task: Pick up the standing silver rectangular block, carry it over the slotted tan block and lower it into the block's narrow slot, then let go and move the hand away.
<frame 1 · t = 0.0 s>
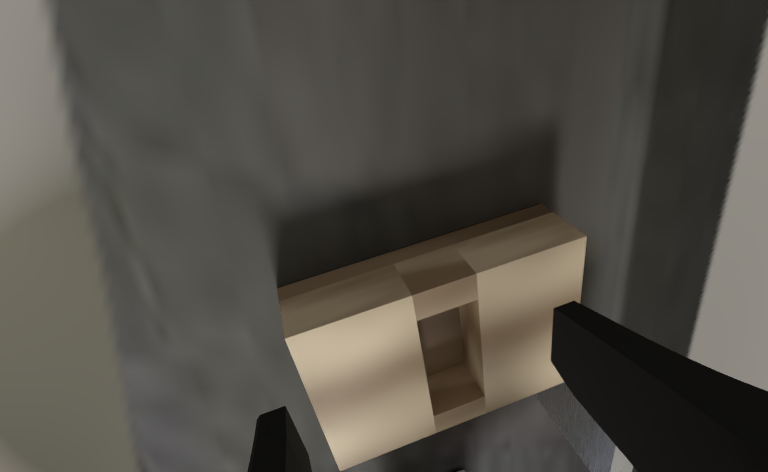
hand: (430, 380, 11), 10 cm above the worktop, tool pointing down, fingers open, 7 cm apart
silver rectangular block: (548, 372, 30), on the worktop
slotted tan block: (427, 317, 24), on the worktop
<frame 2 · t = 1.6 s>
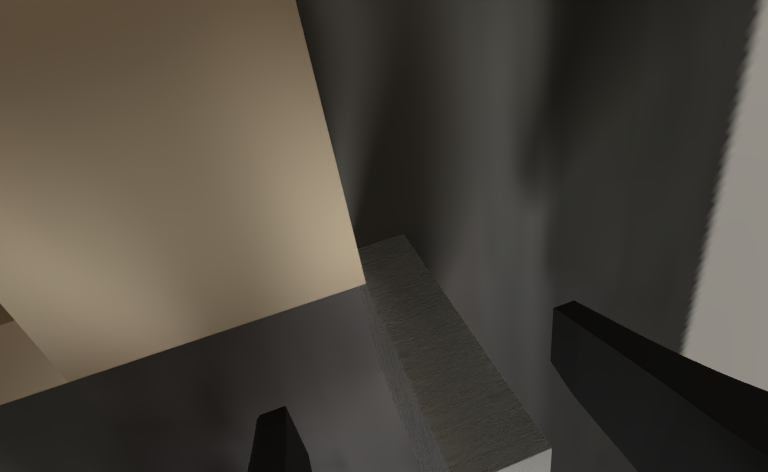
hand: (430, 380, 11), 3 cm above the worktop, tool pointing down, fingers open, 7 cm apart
silver rectangular block: (391, 306, 14), on the worktop
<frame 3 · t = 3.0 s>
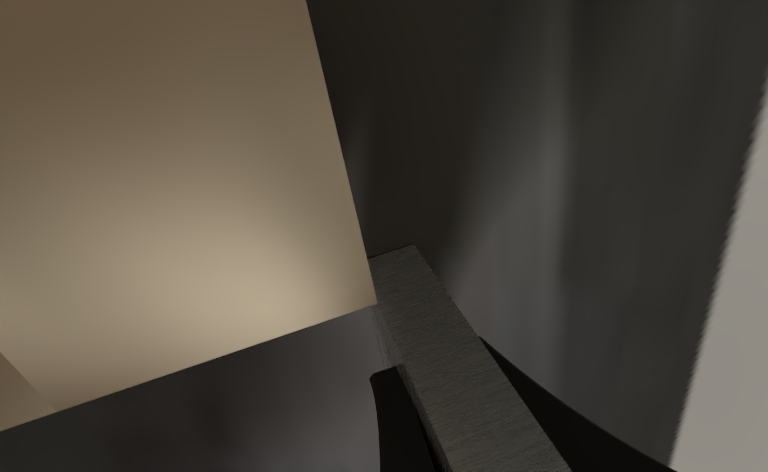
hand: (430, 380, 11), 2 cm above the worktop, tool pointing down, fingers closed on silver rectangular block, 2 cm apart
silver rectangular block: (400, 319, 13), on the worktop, touching gripper
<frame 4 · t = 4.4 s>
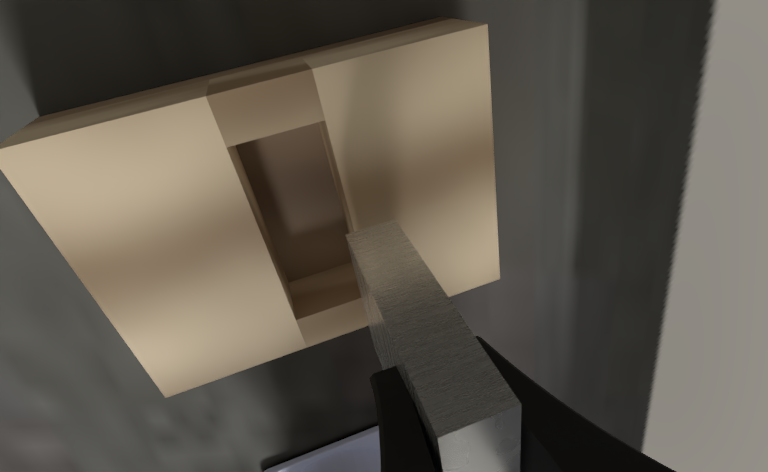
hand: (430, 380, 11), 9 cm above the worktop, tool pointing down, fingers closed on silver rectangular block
silver rectangular block: (383, 288, 15), point 5 cm above the worktop, touching gripper
slotted tan block: (296, 190, 18), on the worktop
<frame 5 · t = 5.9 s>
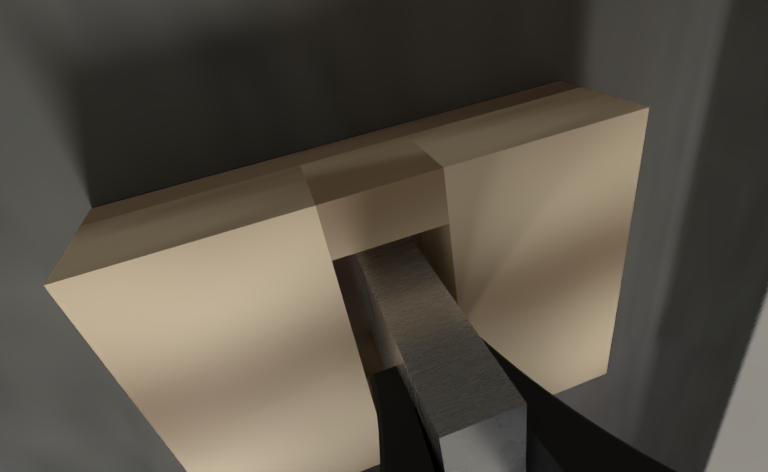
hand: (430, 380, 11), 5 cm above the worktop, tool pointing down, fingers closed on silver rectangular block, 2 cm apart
silver rectangular block: (385, 289, 14), point 1 cm above the worktop, touching gripper, slotted tan block
slotted tan block: (377, 274, 15), on the worktop
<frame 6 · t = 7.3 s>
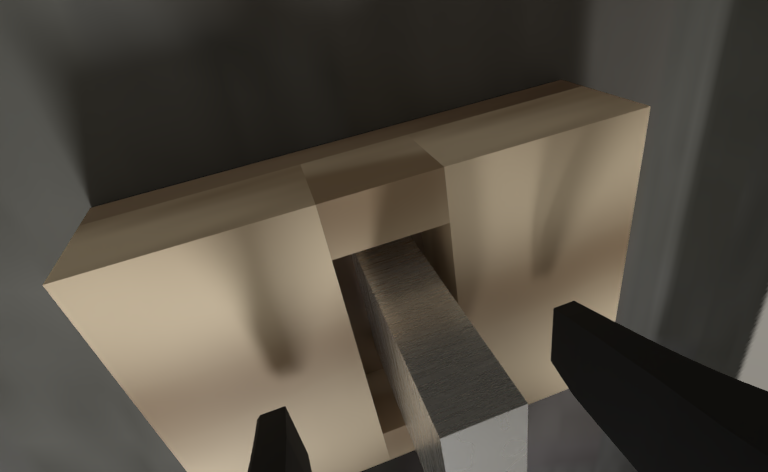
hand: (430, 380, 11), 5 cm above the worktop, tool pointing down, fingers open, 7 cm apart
silver rectangular block: (385, 288, 14), point 1 cm above the worktop, touching slotted tan block
slotted tan block: (377, 273, 15), on the worktop
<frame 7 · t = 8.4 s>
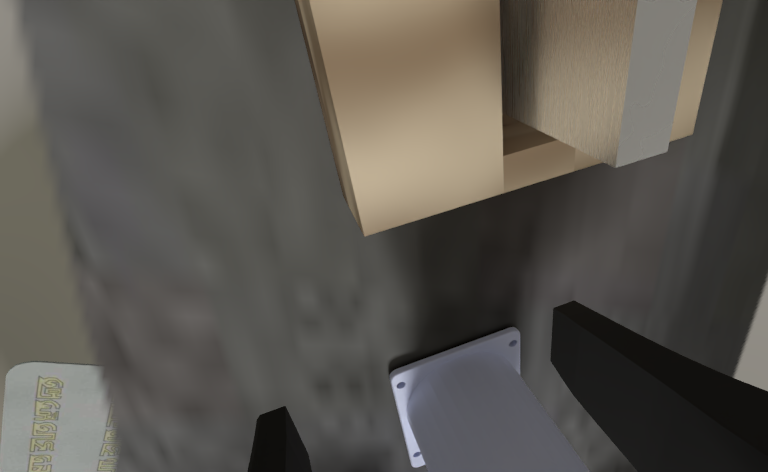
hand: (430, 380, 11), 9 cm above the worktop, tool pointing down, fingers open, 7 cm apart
silver rectangular block: (502, 31, 16), point 1 cm above the worktop, touching slotted tan block
slotted tan block: (489, 31, 17), on the worktop
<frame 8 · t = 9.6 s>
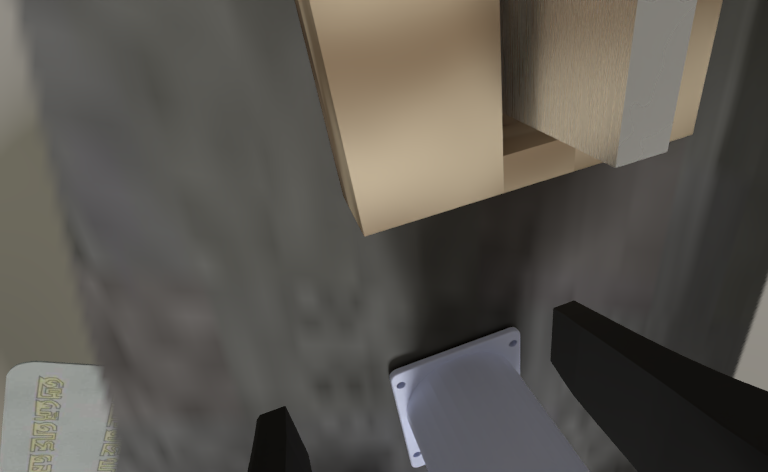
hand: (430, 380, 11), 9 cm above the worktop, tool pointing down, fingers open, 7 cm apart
silver rectangular block: (502, 31, 16), point 1 cm above the worktop, touching slotted tan block
slotted tan block: (489, 31, 17), on the worktop
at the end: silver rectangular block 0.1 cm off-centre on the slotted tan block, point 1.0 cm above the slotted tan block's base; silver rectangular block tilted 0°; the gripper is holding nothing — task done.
